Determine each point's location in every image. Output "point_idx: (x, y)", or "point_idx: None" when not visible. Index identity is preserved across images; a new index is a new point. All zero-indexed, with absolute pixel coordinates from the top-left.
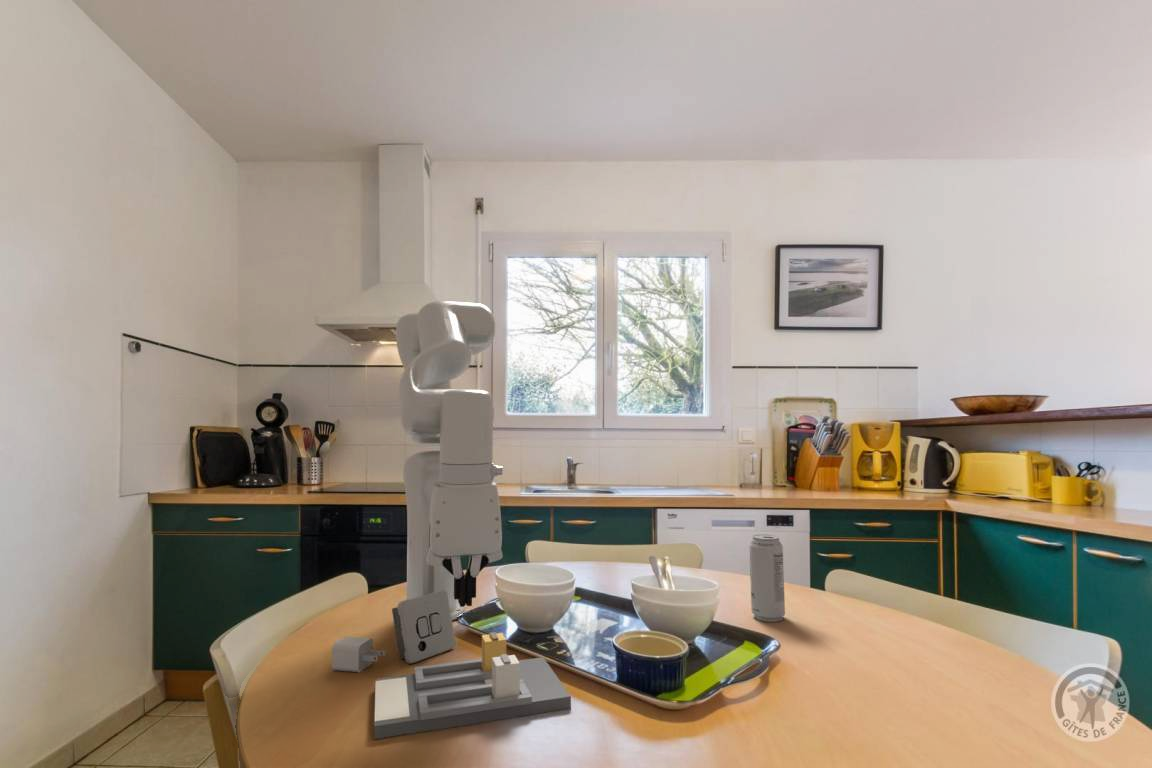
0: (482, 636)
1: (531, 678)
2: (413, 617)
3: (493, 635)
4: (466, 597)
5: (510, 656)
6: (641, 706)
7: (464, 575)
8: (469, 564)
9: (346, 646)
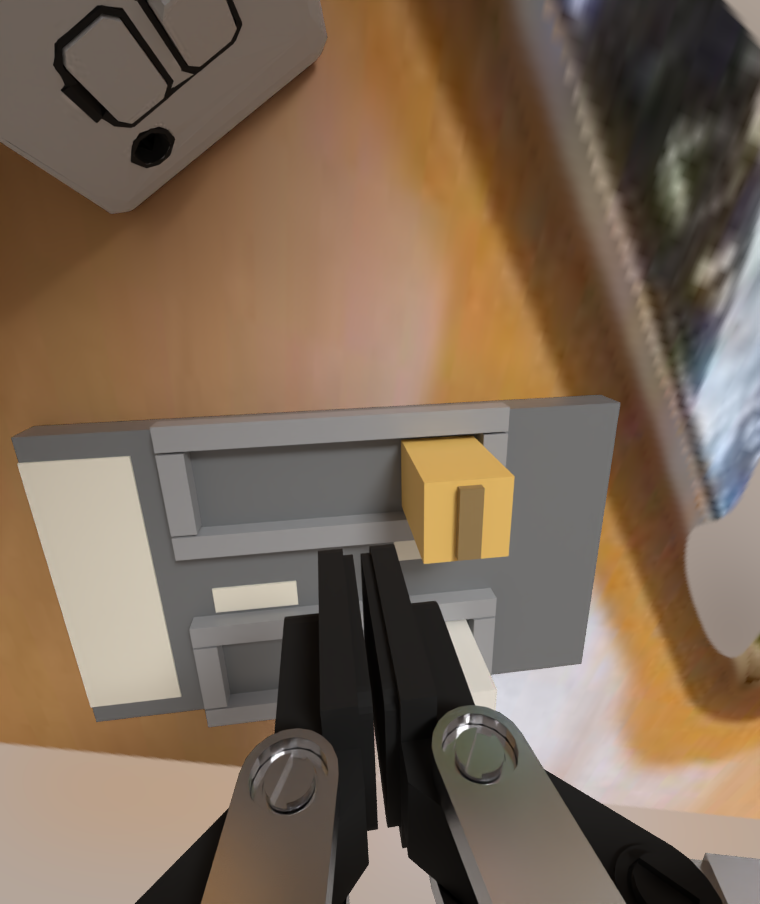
0: (424, 500)
1: (527, 552)
2: (17, 59)
3: (468, 529)
4: (369, 678)
5: (480, 700)
6: (704, 658)
7: (382, 696)
8: (458, 841)
9: None
